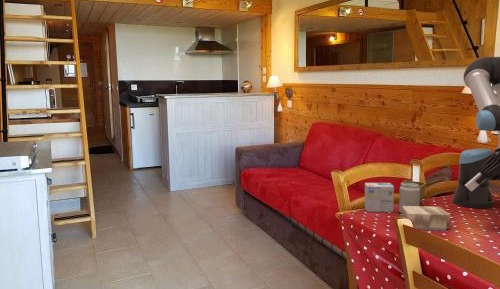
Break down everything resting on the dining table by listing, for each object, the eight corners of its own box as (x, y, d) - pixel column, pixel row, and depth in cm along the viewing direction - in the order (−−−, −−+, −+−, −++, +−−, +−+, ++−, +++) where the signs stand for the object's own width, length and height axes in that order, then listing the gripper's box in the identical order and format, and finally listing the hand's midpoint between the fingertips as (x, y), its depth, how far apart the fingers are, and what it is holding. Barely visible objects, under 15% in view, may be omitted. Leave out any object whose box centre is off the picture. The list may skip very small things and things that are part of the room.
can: (395, 211, 164) (396, 182, 162) (413, 210, 165) (414, 181, 163) (404, 216, 157) (405, 186, 155) (422, 216, 157) (424, 185, 156)
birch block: (441, 206, 151) (402, 205, 153) (450, 215, 141) (408, 213, 143) (440, 219, 151) (401, 218, 153) (449, 228, 142) (407, 227, 144)
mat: (435, 219, 153) (435, 218, 153) (446, 230, 140) (446, 230, 140) (399, 218, 155) (399, 217, 155) (407, 229, 142) (407, 228, 142)
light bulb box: (389, 207, 169) (390, 182, 168) (393, 212, 162) (394, 186, 161) (363, 207, 170) (364, 182, 169) (366, 212, 163) (367, 185, 162)
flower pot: (404, 199, 181) (405, 179, 180) (425, 202, 176) (426, 182, 174) (399, 204, 174) (399, 183, 172) (420, 207, 169) (421, 186, 167)
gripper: (541, 152, 132) (482, 200, 137) (521, 146, 144) (469, 190, 150) (524, 136, 132) (466, 185, 137) (506, 131, 145) (454, 176, 150)
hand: (468, 188), depth 144 cm, fingers closed
